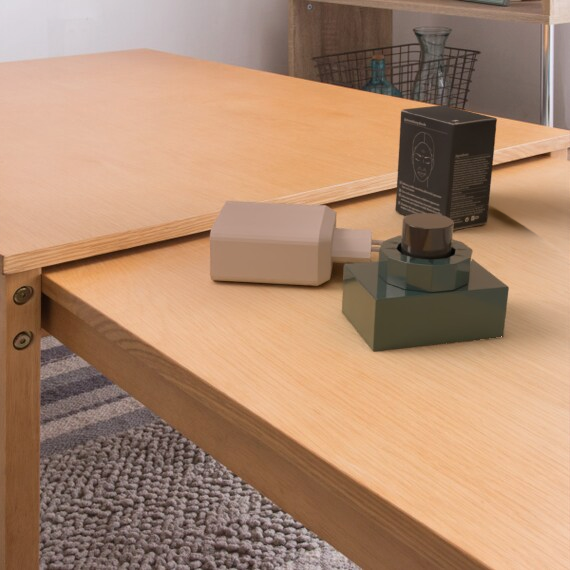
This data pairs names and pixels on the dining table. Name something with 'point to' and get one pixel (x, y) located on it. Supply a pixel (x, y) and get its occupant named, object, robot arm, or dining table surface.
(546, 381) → the dining table surface
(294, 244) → the charger
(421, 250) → the brown push button
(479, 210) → the box
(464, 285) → the base
